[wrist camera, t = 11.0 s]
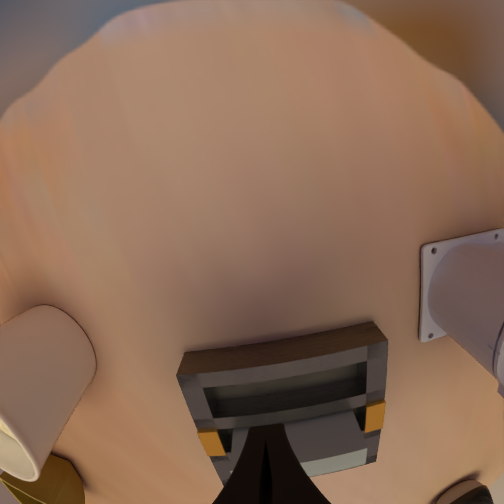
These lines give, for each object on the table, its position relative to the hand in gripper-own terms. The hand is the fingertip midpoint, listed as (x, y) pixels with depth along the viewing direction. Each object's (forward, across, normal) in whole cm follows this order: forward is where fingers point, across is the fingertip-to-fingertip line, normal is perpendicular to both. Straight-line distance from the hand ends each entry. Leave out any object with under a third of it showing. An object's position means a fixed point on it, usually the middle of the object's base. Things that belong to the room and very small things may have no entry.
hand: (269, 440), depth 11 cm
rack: (+10, -1, +8) cm, 13 cm away
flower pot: (+11, +30, +19) cm, 37 cm away
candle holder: (+11, +18, 0) cm, 21 cm away
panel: (+10, -1, +8) cm, 13 cm away
